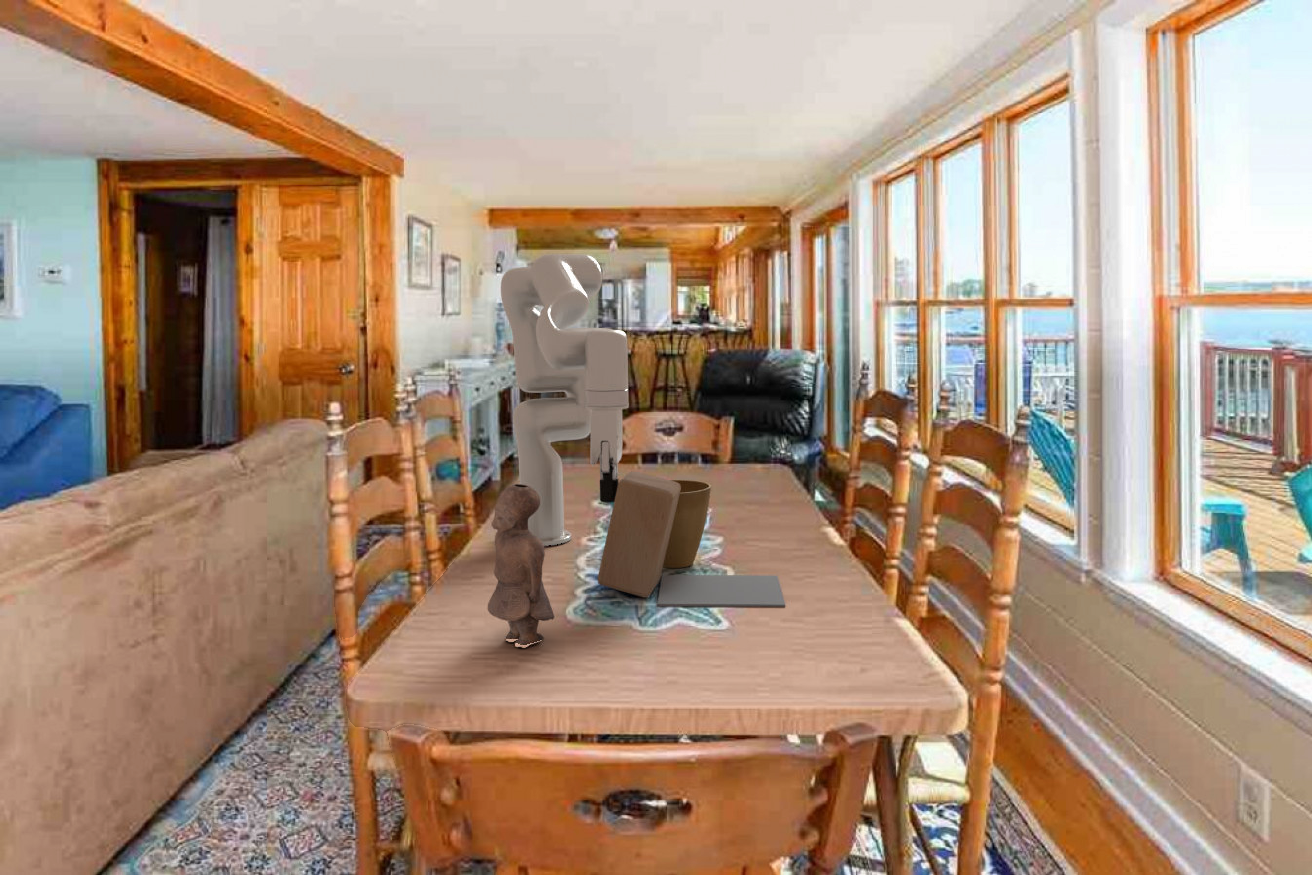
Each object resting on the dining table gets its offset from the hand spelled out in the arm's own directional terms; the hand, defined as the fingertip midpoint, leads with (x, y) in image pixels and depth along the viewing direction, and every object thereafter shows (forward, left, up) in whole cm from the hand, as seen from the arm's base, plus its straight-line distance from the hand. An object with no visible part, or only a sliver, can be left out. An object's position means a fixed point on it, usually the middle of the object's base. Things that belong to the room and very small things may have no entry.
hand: (609, 500), depth 163 cm
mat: (+20, 0, -17) cm, 26 cm away
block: (+3, 0, -16) cm, 16 cm away
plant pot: (+11, +18, -17) cm, 27 cm away
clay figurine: (-11, -26, -17) cm, 33 cm away
